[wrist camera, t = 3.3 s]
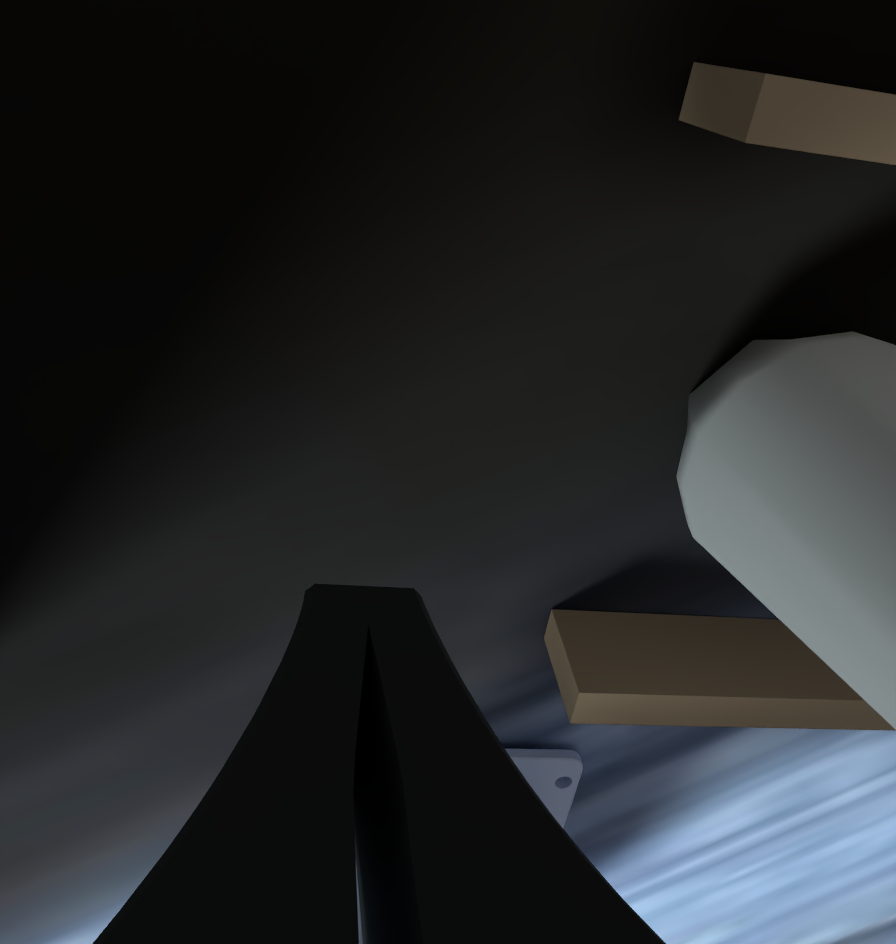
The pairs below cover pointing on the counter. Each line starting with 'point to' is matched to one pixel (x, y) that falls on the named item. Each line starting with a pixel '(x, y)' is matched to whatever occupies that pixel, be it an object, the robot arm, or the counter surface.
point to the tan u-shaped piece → (706, 637)
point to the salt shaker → (805, 494)
